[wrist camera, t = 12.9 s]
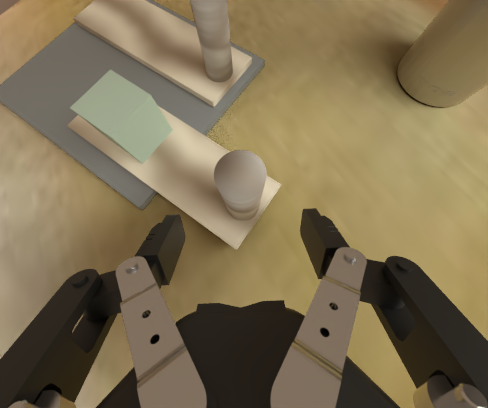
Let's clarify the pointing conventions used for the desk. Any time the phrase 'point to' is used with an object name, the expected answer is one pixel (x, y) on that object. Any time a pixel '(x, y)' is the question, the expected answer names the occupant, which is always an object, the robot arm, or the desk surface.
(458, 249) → the desk surface
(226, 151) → the block strip
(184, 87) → the empty strip
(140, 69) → the lane board
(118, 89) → the sage block
